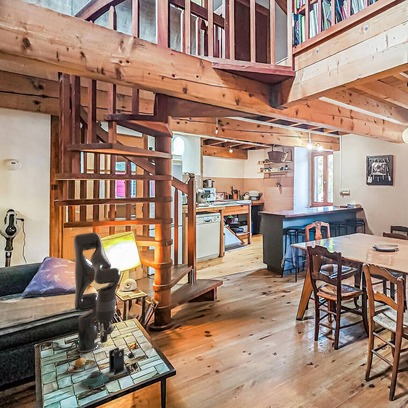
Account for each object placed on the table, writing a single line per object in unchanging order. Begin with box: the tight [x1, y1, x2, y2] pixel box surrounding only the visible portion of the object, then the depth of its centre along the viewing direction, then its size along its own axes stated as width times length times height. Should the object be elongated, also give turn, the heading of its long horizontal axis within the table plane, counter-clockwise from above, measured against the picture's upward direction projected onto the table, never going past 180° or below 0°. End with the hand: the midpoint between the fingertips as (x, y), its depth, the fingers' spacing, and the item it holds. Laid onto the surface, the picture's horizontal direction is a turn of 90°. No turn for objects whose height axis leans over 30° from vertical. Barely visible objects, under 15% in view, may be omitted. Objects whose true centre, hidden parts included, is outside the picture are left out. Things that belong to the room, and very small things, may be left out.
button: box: [90, 370, 101, 378], centre depth 155 cm, size 4×4×2 cm
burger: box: [66, 357, 97, 374], centre depth 167 cm, size 12×12×8 cm
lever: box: [112, 350, 136, 360], centre depth 167 cm, size 12×3×3 cm
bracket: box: [108, 346, 125, 376], centre depth 163 cm, size 8×10×13 cm
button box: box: [80, 371, 110, 389], centre depth 155 cm, size 10×7×4 cm
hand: (103, 342), depth 157 cm, fingers closed
